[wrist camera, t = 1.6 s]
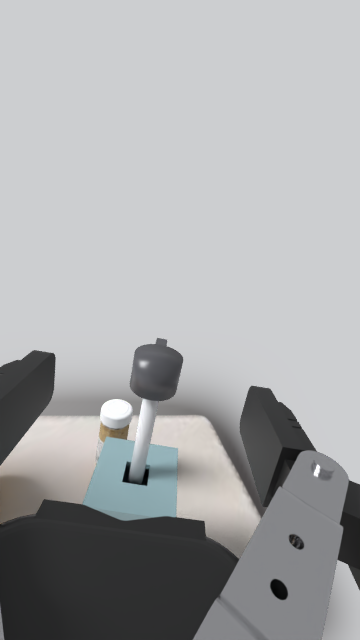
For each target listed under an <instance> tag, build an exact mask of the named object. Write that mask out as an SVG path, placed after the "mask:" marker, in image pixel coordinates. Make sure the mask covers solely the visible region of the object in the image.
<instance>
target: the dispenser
mask: <svg viewBox="0 0 360 640" xmlns="http://www.w3.org/2000/svg"><path fill="white" fill-rule="evenodd" d="M134 445H135V441H130V440H124V439H118V438H112V437H106V439H105V442H104V445H103V447H102V450H101V453H100V456H99V459H98V462H97V464H96V467H95V470H94V473H93V476H92V478H91V481H90V484H89V487H88V490H87V493H86V495H85V498H84V501H83V504H82V505H86V506H88V507H91V508H93V509H95V510H98V511H100V512H103V513H105V514H107V515H110V516H112V517H115V518H117V519H119V520H124V521H128V520H136V519H145V518H153V517H161V516H170V517H176V502H177V463H178V448H173V447H167V446H160V445H154V444H150V446H149V451H148V456H147V461H146V466H145V471H144V476H143V481H142V485H138V484H131V483H128V478H129V472H130V467H131V461H132V456H133V450H134Z"/></svg>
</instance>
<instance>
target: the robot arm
mask: <svg viewBox="0 0 360 640" xmlns="http://www.w3.org/2000/svg"><path fill="white" fill-rule="evenodd" d="M54 376H55V355H54V353H48V352H42V351H36V350H34V351H32V352H31V353H29V354H28V355H27V356H26V357H24V358H23V359H22V360H16V361H13V362H10V363H8V364H5V365H3V366H2V367H0V465H1V464H2V463H3V461H4V460H5V459H6V458H7V456H8V455H9V454H10V453H11V451H12V450H13V449H14V447H15V446H16V445H17V444H18V442H19V441H20V440H21V438H22V437H23V436H24V435H25V433H26V432H27V431H28V430H29V428H30V427H31V426H32V424H33V423H34V422H35V421H36V419H37V418H38V417H39V415H40V414H41V413H42V412H43V410H44V409H45V408H46V406H47V405H48V404H49V402H50V400H51V398H52V395H53V390H54ZM240 434H241V437H242V440H243V444H244V447H245V450H246V454H247V457H248V460H249V464H250V467H251V470H252V474H253V477H254V480H255V484H256V487H257V490H258V494H259V497H260V500H261V504H262V506H263V507H268V508H267V510H266V511H265V513H264V515H263V517H262V519H261V521H260V523H259V524H258V526H257V528H256V530H255V532H254V534H253V535H252V537H251V539H250V541H249V543H248V545H247V547H246V548H245V550H244V552H243V554H242V556H241V558H240V559H238V558H237V557H236V556H235V555H234V554H233V553H232V552H230V551H229V550H228V549H227V548H225V547H224V546H222V545H221V544H219V543H218V542H216V541H214V540H212V539H210V538H208V537H206V534H205V522H204V521H199V520H192V519H184V518H177V517H170V516H161V517H153V518H145V519H136V520H128V521H124V520H119V519H117V518H115V517H112V516H110V515H107V514H105V513H103V512H100V511H98V510H95V509H93V508H91V507H88V506H86V505H82V504H74V503H67V502H60V501H52V500H45V499H44V500H43V502H42V504H41V506H40V508H39V510H38V512H37V514H33V515H27V516H23V517H19V518H16V519H13V520H9V521H7V522H4V523H2V524H0V640H322V635H323V630H324V625H325V619H326V614H327V609H328V604H329V598H330V594H331V589H332V584H333V579H334V574H335V569H336V564H337V560H339V561H342V562H344V563H346V564H348V565H349V568H350V570H351V572H352V575H353V576H354V579H355V581H356V583H357V585H358V587H359V590H360V484H357V483H354V482H352V481H349V479H348V475H347V473H346V472H345V470H344V469H343V468H342V467H341V466H340V465H339V464H338V463H337V462H336V461H334V460H333V459H331V458H330V457H328V456H326V455H324V454H322V453H319V452H317V451H316V449H315V448H314V446H313V445H312V443H311V441H310V440H309V438H308V437H307V435H306V434H305V432H304V430H303V429H302V427H301V426H300V424H299V422H297V419H296V418H295V416H294V415H293V413H292V412H291V410H290V409H288V408H287V407H286V406H285V405H284V404H283V403H281V402H278V401H277V400H276V398H275V396H274V394H273V393H272V391H271V389H269V388H263V387H257V386H251V387H250V388H249V391H248V394H247V398H246V401H245V405H244V408H243V412H242V415H241V420H240Z"/></svg>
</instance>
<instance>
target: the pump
mask: <svg viewBox="0 0 360 640" xmlns="http://www.w3.org/2000/svg"><path fill="white" fill-rule="evenodd" d="M166 344H167V340H165V339H160V338H157V341H156V344H148V345H143V346H140V347H138V348H137V349H136V350H135V354H134V361H133V367H132V373H131V374H132V375H131V380H130V388H131V390H132V391H133V392H134V393H135V394H136V395H138V396H139V397H141V398H143V401H142V406H141V411H140V417H139V422H138V428H137V434H136V439H135V445H134V450H133V456H132V461H131V467H130V472H129V478H128V483H131V484H138V485H142V481H143V476H144V471H145V466H146V461H147V456H148V451H149V446H150V441H151V436H152V432H153V427H154V422H155V417H156V412H157V407H158V402H159V401H164V400H168V399H170V398H171V397H173V396H174V395H175V393H176V390H177V385H178V381H179V377H180V372H181V368H182V363H183V357H182V355H181V354H180V353H179V352H177V351H176V350H174V349H172V348H170V347H167V346H166Z"/></svg>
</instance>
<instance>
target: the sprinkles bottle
mask: <svg viewBox="0 0 360 640" xmlns="http://www.w3.org/2000/svg"><path fill="white" fill-rule="evenodd" d="M132 413H133V409H132V406H131V405H130V404H129V403H128V402H126V401H123V400H119V399H114V400H110V401H107V402H106V403H104V405H103V406H102V409H101V415H100V420H101V425H100V432H99V437H98V446H97V454H96V464H97V462H98V459H99V456H100V453H101V450H102V447H103V445H104V442H105V439H106V437H112V438H118V439H124V440H127V436H128V429H129V424H130V422H131V419H132Z"/></svg>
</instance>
